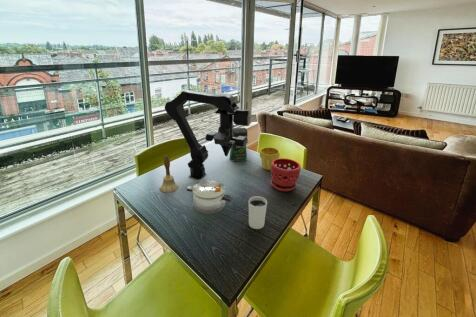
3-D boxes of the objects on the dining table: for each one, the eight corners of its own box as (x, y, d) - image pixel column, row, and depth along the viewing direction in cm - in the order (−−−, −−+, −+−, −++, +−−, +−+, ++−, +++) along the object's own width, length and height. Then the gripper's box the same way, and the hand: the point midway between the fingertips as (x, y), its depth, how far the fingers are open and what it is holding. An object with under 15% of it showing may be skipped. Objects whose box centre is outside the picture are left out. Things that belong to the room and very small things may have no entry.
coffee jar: (231, 162, 142) (231, 130, 134) (228, 156, 149) (228, 126, 141) (248, 161, 144) (249, 130, 136) (244, 155, 151) (245, 125, 143)
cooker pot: (180, 206, 104) (179, 194, 101) (197, 190, 115) (196, 178, 113) (224, 219, 97) (224, 206, 94) (238, 200, 108) (238, 188, 106)
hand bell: (182, 185, 119) (179, 154, 112) (170, 194, 112) (167, 161, 105) (168, 181, 122) (164, 150, 115) (156, 189, 115) (151, 157, 108)
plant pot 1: (277, 172, 132) (279, 155, 128) (257, 170, 134) (258, 153, 130) (278, 164, 141) (280, 148, 137) (260, 162, 143) (261, 146, 139)
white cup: (245, 227, 93) (246, 204, 89) (250, 216, 99) (251, 194, 95) (262, 231, 91) (264, 208, 87) (267, 220, 97) (269, 198, 92)
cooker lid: (186, 194, 99) (185, 188, 99) (202, 180, 111) (202, 175, 110) (216, 202, 95) (216, 196, 94) (230, 186, 106) (230, 181, 105)
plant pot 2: (292, 196, 112) (295, 172, 107) (265, 188, 118) (267, 165, 113) (301, 183, 122) (304, 161, 117) (275, 176, 128) (277, 155, 123)
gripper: (198, 125, 108) (200, 159, 115) (239, 132, 102) (238, 166, 109) (210, 119, 118) (211, 150, 124) (248, 124, 111) (247, 156, 118)
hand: (226, 155), depth 119 cm, fingers closed
